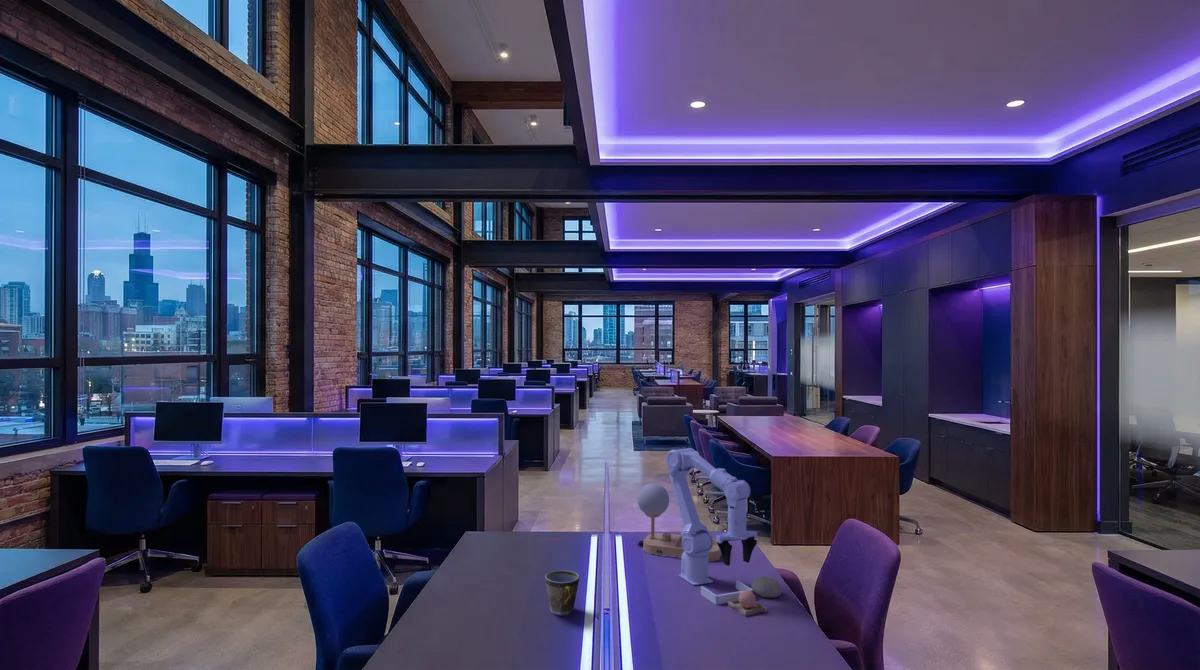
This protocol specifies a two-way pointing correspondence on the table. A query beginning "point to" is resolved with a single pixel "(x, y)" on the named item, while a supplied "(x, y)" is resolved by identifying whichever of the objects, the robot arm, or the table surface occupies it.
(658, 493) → the lamp
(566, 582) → the ceramic cup
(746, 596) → the ball
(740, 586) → the white u-shaped arch
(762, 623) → the table surface
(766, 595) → the sea urchin shell
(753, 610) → the tray
